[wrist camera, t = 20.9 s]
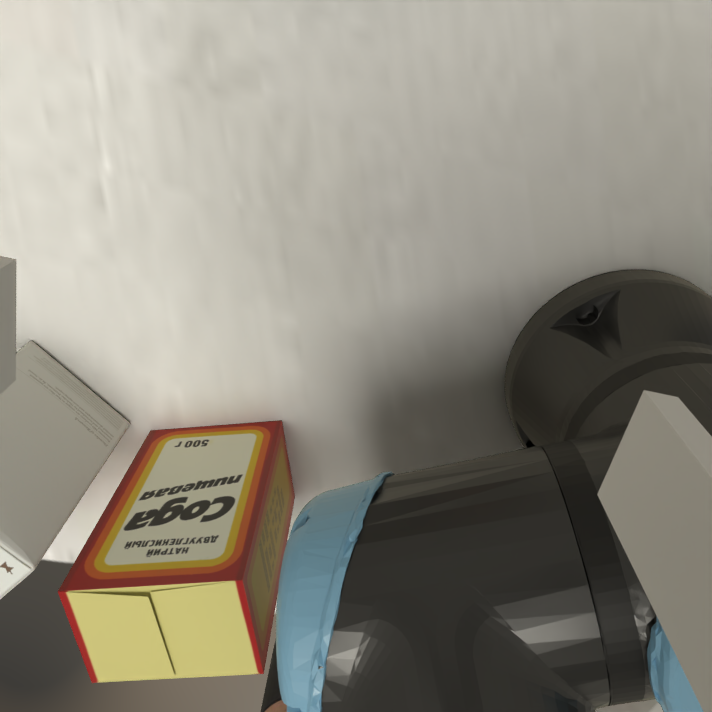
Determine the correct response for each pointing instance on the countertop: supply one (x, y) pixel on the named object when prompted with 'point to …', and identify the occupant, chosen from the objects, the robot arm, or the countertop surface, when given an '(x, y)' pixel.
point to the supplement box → (46, 457)
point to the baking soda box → (186, 557)
